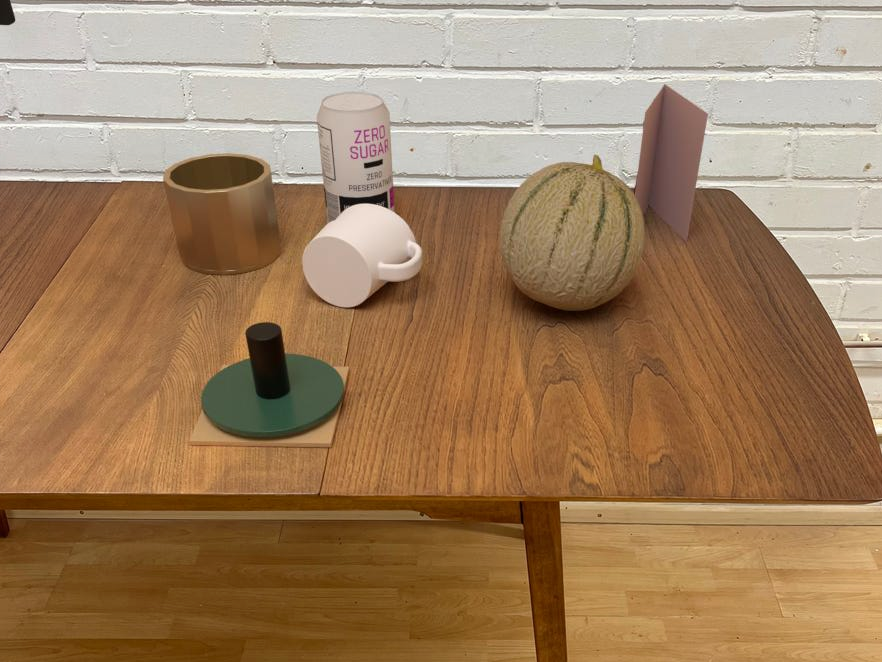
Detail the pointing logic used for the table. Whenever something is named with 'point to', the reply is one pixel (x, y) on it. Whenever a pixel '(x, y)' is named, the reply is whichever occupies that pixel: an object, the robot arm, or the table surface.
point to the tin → (223, 213)
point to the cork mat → (310, 437)
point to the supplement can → (355, 151)
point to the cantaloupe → (572, 235)
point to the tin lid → (271, 389)
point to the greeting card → (670, 158)
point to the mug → (360, 255)
